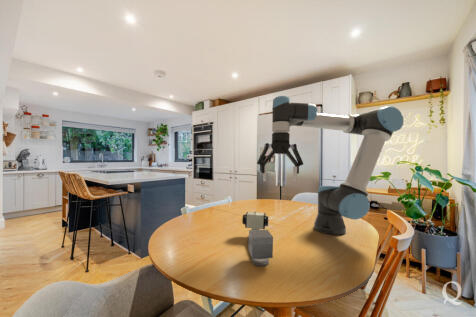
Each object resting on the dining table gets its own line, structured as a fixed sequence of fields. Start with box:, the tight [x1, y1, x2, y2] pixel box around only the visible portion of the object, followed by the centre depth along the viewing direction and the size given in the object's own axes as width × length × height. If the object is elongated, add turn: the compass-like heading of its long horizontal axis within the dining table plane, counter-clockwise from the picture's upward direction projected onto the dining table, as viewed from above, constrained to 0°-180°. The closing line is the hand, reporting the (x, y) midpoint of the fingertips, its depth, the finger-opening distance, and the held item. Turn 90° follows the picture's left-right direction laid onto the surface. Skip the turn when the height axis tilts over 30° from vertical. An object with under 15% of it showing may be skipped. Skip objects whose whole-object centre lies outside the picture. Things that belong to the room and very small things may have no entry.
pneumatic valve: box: [241, 210, 269, 230], centre depth 93 cm, size 6×12×12 cm, turn 78°
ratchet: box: [247, 236, 270, 268], centre depth 77 cm, size 6×20×7 cm, turn 7°
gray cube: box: [248, 229, 274, 260], centre depth 70 cm, size 7×7×7 cm
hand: (279, 181), depth 88 cm, fingers open, 13 cm apart
